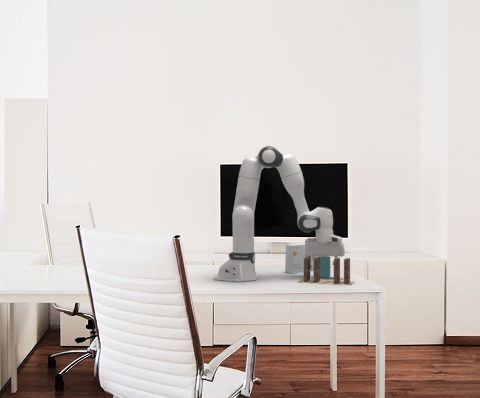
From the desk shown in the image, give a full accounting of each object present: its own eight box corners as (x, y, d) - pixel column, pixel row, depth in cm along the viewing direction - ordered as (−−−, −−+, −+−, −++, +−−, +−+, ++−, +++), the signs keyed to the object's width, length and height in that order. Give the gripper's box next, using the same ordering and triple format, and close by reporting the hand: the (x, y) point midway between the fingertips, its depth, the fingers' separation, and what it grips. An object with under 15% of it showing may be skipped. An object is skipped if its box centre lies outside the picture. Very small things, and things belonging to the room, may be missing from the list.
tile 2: (333, 283, 312) (333, 259, 311) (335, 281, 317) (336, 257, 317) (337, 283, 311) (337, 259, 311) (340, 281, 317) (340, 257, 316)
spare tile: (329, 280, 327) (329, 257, 327) (318, 279, 329) (318, 256, 329) (330, 279, 329) (330, 256, 329) (318, 279, 331) (318, 256, 331)
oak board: (296, 284, 315) (296, 282, 315) (302, 280, 326) (302, 279, 326) (351, 287, 306) (351, 285, 306) (355, 283, 317) (355, 281, 317)
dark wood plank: (303, 282, 317) (303, 257, 316) (306, 280, 322) (306, 256, 322) (307, 282, 316) (307, 258, 316) (310, 280, 322) (310, 256, 321)
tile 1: (343, 284, 310) (343, 259, 310) (346, 282, 316) (346, 258, 315) (348, 284, 309) (348, 259, 309) (350, 282, 315) (350, 258, 315)
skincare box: (291, 274, 351) (291, 245, 351) (284, 272, 356) (284, 244, 355) (319, 270, 364) (319, 243, 363) (312, 269, 368) (312, 242, 368)
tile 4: (313, 282, 315) (313, 258, 315) (316, 280, 321) (316, 256, 320) (317, 282, 314) (317, 258, 314) (320, 280, 320) (320, 257, 320)
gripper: (303, 238, 329) (304, 265, 330) (343, 238, 323) (343, 266, 323) (306, 237, 335) (306, 263, 336) (345, 237, 329) (345, 264, 329)
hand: (325, 264), depth 329 cm, fingers open, 8 cm apart
